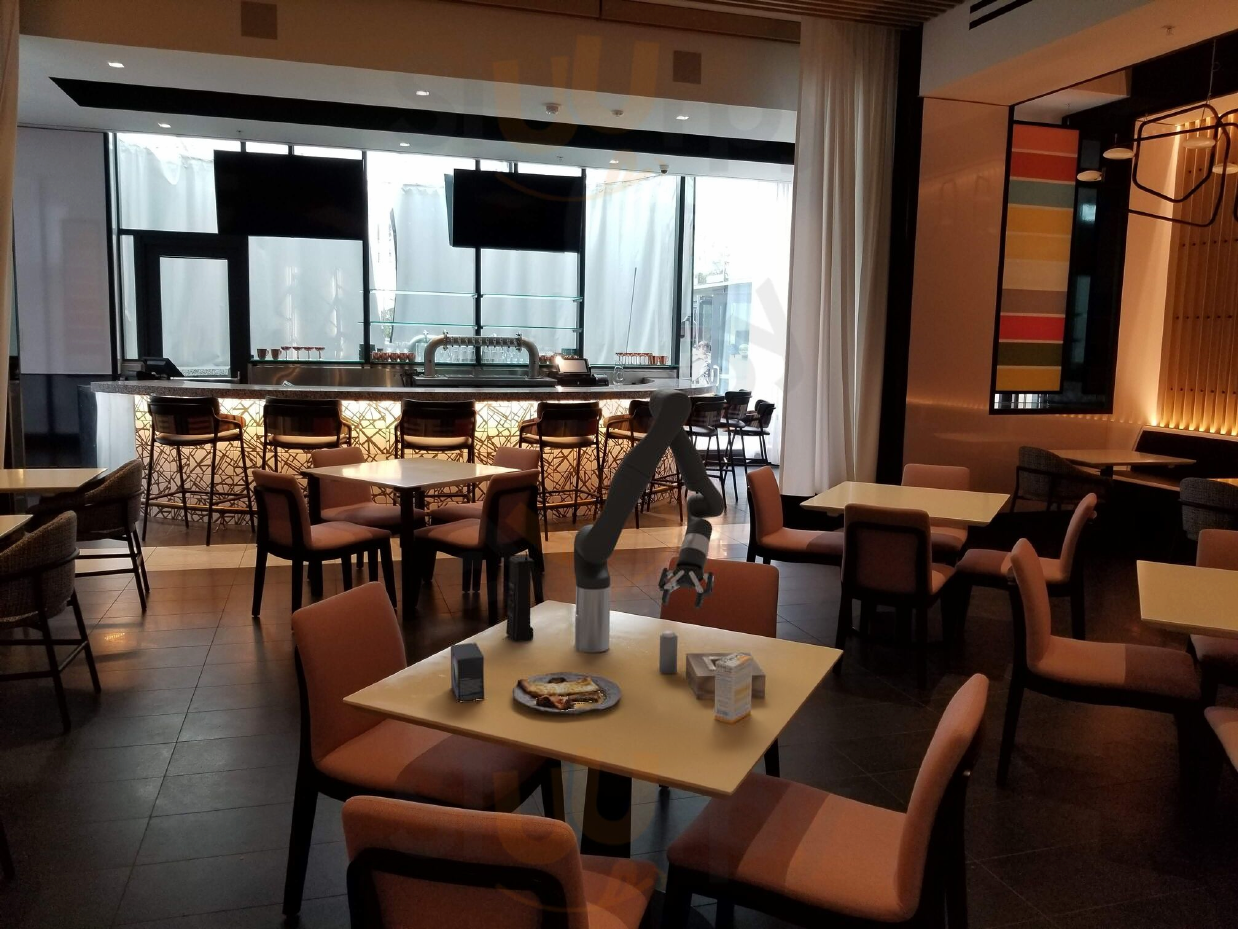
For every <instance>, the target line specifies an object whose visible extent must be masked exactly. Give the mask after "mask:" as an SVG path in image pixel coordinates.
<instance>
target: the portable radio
mask: <svg viewBox="0 0 1238 929" xmlns="http://www.w3.org/2000/svg"><path fill="white" fill-rule="evenodd" d="M534 563H535V560H534V559H532V558H531V557H529V556H528V551H527V550H526V551H525V555H513V556H509V559H508V587H509V588H508V589H509V591H508V592H509V593H508V594H509V597H508V598H507V612H506V620H507V621H506V630H505V634H506V635H507V636H508V637H509V639H511V640H512V641H513V642H514V643H518V642H525V641H530V640H531V641H532V640H533V639H534V628H533V626H531V584H532V583H531V578H532V577H531V573H532V571H534V570H535V568H534V567H535V566H534V565H535V564H534Z"/></svg>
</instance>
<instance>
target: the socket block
mask: <svg viewBox="0 0 1238 929" xmlns="http://www.w3.org/2000/svg"><path fill="white" fill-rule="evenodd" d="M734 653H735V652H707V653H705V652H703V653H702V652H700V653H698V652H697V653H693V652H691V653H685V676H686V679H687V680H688V683H689V685H690V687H691V690H692V692H693V693H694V696H695V698H696V700H715V669H716V662H717V661H719V660H721V659H723V658H725V657H727V656H730V655H732V654H734ZM738 653H739V654H742V655H746V656H750V657H752V658H753V659H752V689H751V699H765V698H766V674H765V672H764V671H763V669H762V668H761V667H760V665H759V664H758V662H757V661H756V660H755V658H754V656H752V654H751V653H750V652H738Z"/></svg>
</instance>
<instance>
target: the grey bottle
mask: <svg viewBox="0 0 1238 929" xmlns="http://www.w3.org/2000/svg"><path fill="white" fill-rule="evenodd" d="M678 637H679V636H678V635H676V631H674V630H664V631H662V634H660V635H659V660H658V661H659V668H658V671H659V672H660V673H661V674H666V675H674V674H676V673H677V672H678V669H677V668H678V639H679V638H678Z"/></svg>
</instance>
